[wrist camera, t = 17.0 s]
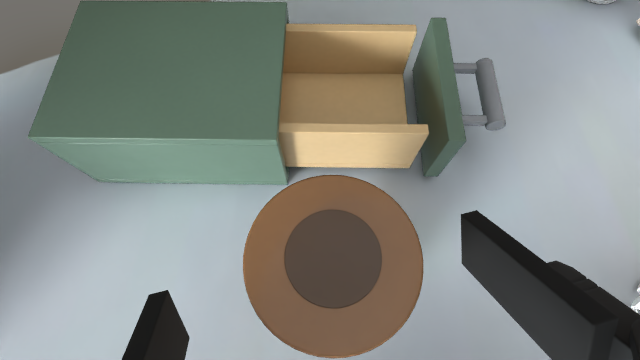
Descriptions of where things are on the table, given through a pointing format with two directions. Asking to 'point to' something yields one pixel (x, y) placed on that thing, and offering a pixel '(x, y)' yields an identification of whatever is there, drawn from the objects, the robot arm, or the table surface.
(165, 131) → the cabinet
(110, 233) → the table surface
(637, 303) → the rocket engine
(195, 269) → the table surface
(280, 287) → the paper roll
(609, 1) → the cup
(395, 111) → the drawer
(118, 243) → the table surface
